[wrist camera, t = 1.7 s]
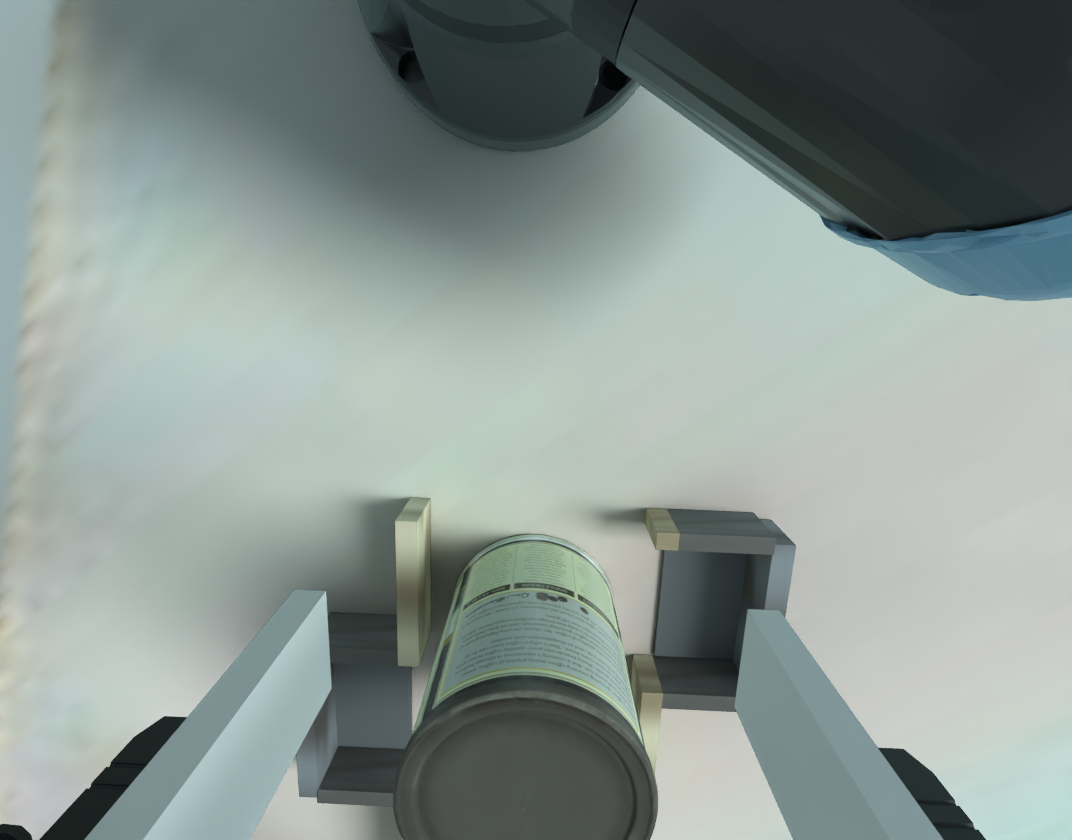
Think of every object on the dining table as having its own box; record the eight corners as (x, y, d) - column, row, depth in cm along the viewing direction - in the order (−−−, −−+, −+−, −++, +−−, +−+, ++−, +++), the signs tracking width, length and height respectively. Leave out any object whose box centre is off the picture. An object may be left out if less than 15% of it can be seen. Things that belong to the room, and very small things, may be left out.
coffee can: (637, 650, 36) (692, 874, 22) (487, 697, 37) (452, 938, 23) (583, 508, 34) (608, 659, 20) (427, 562, 35) (347, 739, 21)
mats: (327, 510, 34) (325, 512, 34) (749, 529, 34) (750, 531, 34) (338, 743, 38) (337, 745, 38) (718, 762, 38) (719, 764, 37)
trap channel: (306, 492, 34) (279, 515, 30) (772, 513, 34) (797, 538, 30) (325, 815, 39) (304, 865, 36) (725, 836, 39) (742, 888, 36)
